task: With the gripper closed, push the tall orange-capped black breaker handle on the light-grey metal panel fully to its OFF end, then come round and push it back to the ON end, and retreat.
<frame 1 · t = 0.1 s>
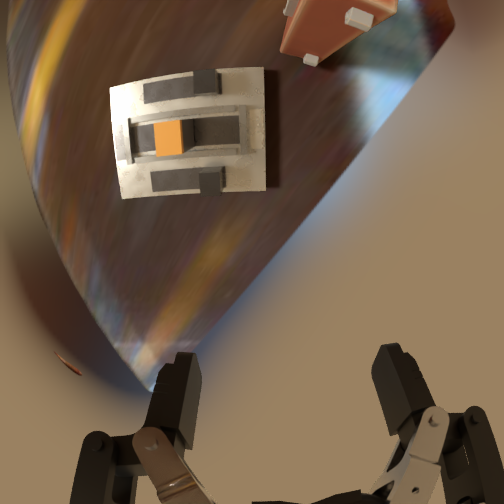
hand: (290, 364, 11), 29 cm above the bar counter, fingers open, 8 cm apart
tripped breaker: (175, 135, 28), point 6 cm above the bar counter, slide at 0.0 cm
breaker board: (187, 132, 33), on the bar counter
control panel: (307, 20, 25), on the bar counter
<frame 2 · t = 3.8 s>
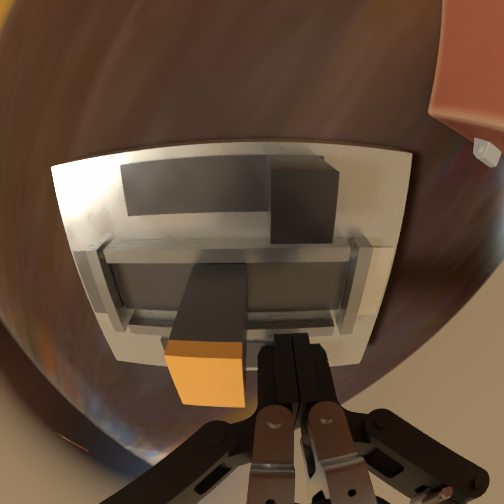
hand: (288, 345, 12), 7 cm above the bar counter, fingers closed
tripped breaker: (215, 331, 13), point 6 cm above the bar counter, slide at -0.2 cm, touching gripper
breaker board: (228, 268, 18), on the bar counter
control panel: (464, 53, 10), on the bar counter
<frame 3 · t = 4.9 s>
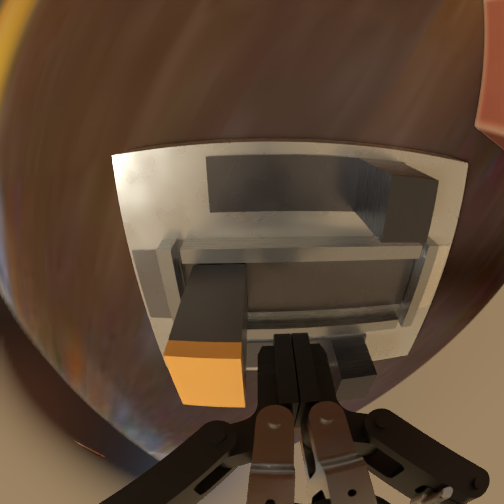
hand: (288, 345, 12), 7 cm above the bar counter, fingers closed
tripped breaker: (215, 331, 13), point 6 cm above the bar counter, slide at -4.7 cm, touching gripper
breaker board: (299, 266, 17), on the bar counter
control panel: (500, 72, 10), on the bar counter
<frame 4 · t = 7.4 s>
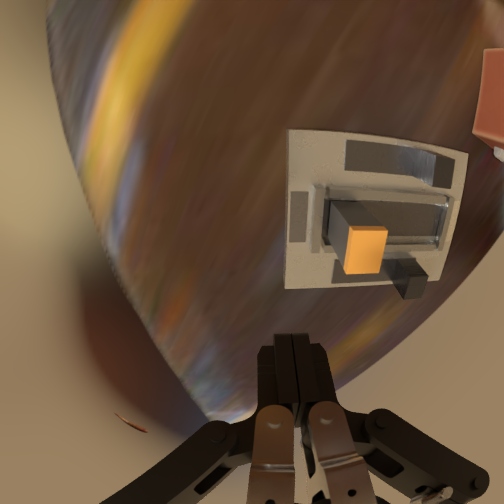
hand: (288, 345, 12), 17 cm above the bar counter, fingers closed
tripped breaker: (354, 234, 22), point 6 cm above the bar counter, slide at -4.8 cm
breaker board: (378, 211, 27), on the bar counter
control panel: (490, 98, 19), on the bar counter
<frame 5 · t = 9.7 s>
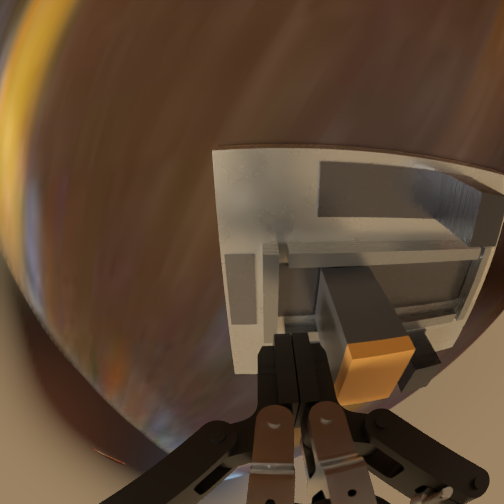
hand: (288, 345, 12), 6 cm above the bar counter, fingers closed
tripped breaker: (355, 331, 13), point 6 cm above the bar counter, slide at -3.3 cm, touching gripper
breaker board: (376, 268, 17), on the bar counter
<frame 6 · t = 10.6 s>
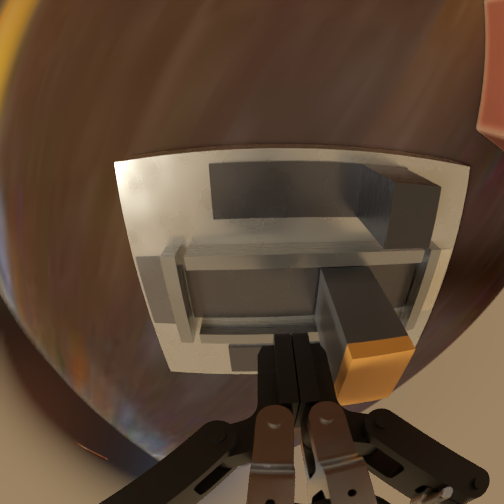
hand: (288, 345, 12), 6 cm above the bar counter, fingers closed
tripped breaker: (355, 331, 13), point 6 cm above the bar counter, slide at 1.9 cm, touching gripper
breaker board: (302, 271, 18), on the bar counter
control panel: (501, 74, 10), on the bar counter
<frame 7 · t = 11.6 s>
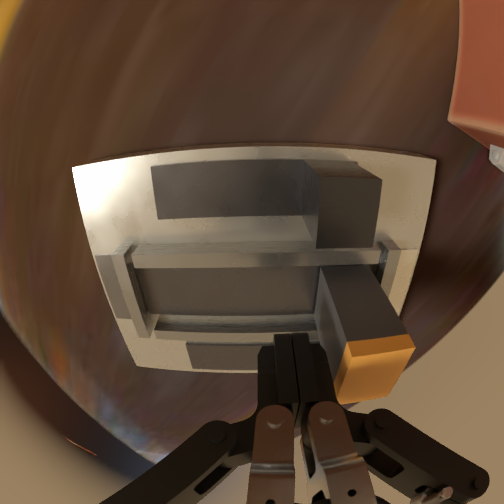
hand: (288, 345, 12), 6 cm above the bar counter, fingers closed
tripped breaker: (355, 329, 13), point 6 cm above the bar counter, slide at 4.8 cm, touching gripper
breaker board: (256, 271, 18), on the bar counter
control panel: (479, 62, 10), on the bar counter
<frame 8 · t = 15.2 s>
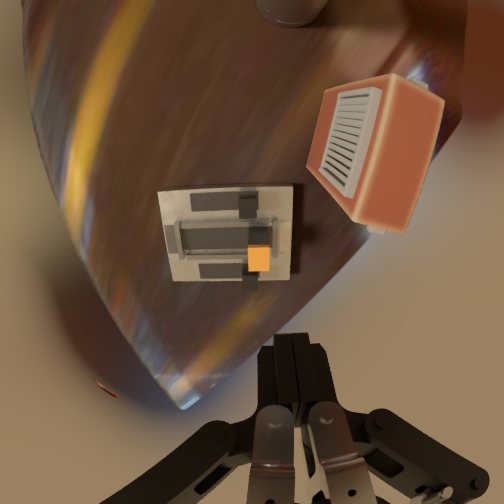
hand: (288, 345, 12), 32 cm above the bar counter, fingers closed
tripped breaker: (258, 248, 39), point 6 cm above the bar counter, slide at 4.9 cm
breaker board: (227, 232, 44), on the bar counter
control panel: (331, 132, 37), on the bar counter
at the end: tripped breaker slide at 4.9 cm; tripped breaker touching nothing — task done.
